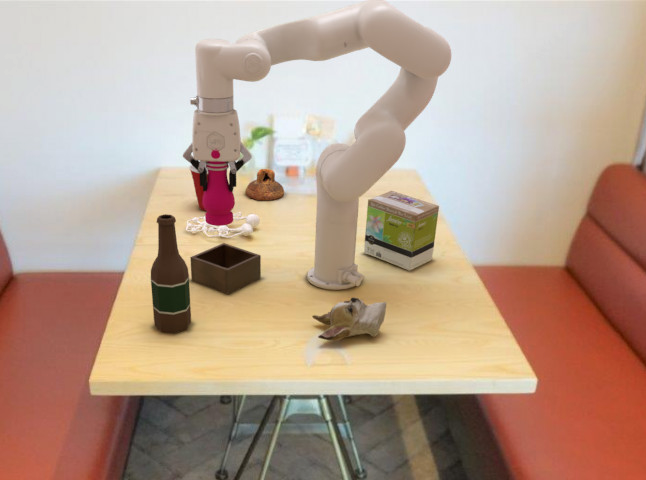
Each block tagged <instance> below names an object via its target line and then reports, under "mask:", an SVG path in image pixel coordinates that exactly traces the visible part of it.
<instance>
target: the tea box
mask: <svg viewBox="0 0 646 480" xmlns="http://www.w3.org/2000/svg"><path fill="white" fill-rule="evenodd" d="M366 208H367V210H366V221H365V223H366V224H365V232H364V233H365V234H364V247H363V250H364V251H363V254H365V255H369V256H372V257H375V258H377V259H379V260H382V261H384V262H387V263H390V264H392V265H394V266H397V267H400V268H402V269H404V270H406V271H409V272H410V271H412V270H415V269H416V268H418V267H421V266H422V265H425V264H426V263H429V262H431V261H432V260H433V255H434V248H435V240H436V233H437V226H438V225H437V224H438V219H439V211H440V210H439V209H440V205H438V204H435V203H431V202H428V201H426V200H422V199H419V198H415V197H412V196H409V195H406V194H403V193H401V192H397V191H394V190H390V191H387V192H385V193H383V194H380V195H377V196H375V197H372V198H370V199H367V207H366Z"/></svg>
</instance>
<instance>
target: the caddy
mask: <svg viewBox="0 0 646 480" xmlns="http://www.w3.org/2000/svg"><path fill="white" fill-rule="evenodd" d="M189 258H190V259H189V260H190V271H191V272H190V274H191V282H192V283H193V282H194V283H196V284H199V285H202V286H203V287H206V288H210V289H213V290H214V291H218V292H220V293H223V294H226V295H230V294H231V295H232V294H233V293H235V292H237V291H238V290H241V289H243V288H245V287H247V286H248V285H251V284H253V283H255V282H257V281H259V280H261V278H262V276H261V274H262V273H261V268H262V267H261V265H262V264H261V263H262V262H261V254H258V253H255V252H253V251H249V250H246V249H243V248H241V247H237V246H234V245H232V244H228V243H226V242H223V243H221V244H220V243H219V244H218V245H216V246H215V245H214V246H213V247H211V248H208V249H206V250H204V251H201V252H200V253H197V254H194V255H192V256H190V257H189Z"/></svg>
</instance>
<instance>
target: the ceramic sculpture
mask: <svg viewBox="0 0 646 480" xmlns="http://www.w3.org/2000/svg"><path fill="white" fill-rule="evenodd" d="M387 304H388V303H387V302H386V301H383V302H374V303H370V304H366V303H365V302H364V300H363V299H360V298H359V297H351V298H350V300H344V301H340V302H337V303H336V304H335V305H334V306H332V308H331V309H330V311H328V312H327V313H324V314H321V315H315V314H314V315H311V316H312V319H314V320H315V321H318V322H319V323H321V324H324V325H325V326H326V325H327V326H330V327H328V328H326V330H325V331H324V332H323V333H321V334H320V335H318V336H317V338H319V339H322V340H326V341H331V342H337V341H340V340H343V339H344V338H348V337H353V336H358V335H364V334H368V335H369V336H371V337H373V338H375V337H376V336H377V335H378V334H379V330H380V329H381V326H382V325H383V323H384V321H385V318H386V317H385V316H386V310H387Z"/></svg>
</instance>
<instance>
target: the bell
mask: <svg viewBox="0 0 646 480" xmlns="http://www.w3.org/2000/svg"><path fill="white" fill-rule="evenodd" d="M275 176H276V174H275V171H274V170H272V169H269V168H261V169H259V170H258V171H257V173H256V179H254V180H252V181H250V183H248V184H247V186H246V188H245V195H246V196H247V197H248V198H250V199H253V200H257V201H272V200H277V199H279V198H282V197H283V196H284V194H285V189H284V187H283V185H282V184H281V183H280V182H278V181H276V179H275V178H276V177H275Z"/></svg>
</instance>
